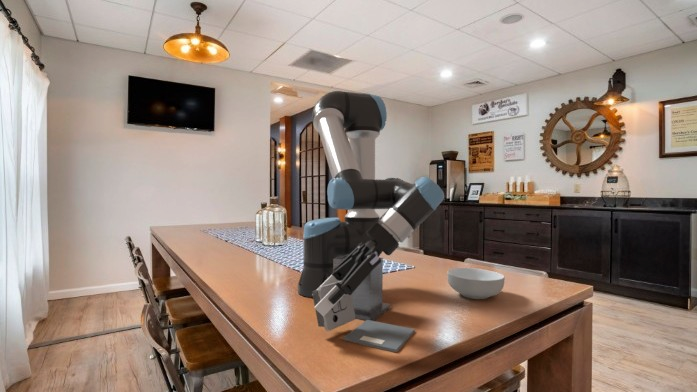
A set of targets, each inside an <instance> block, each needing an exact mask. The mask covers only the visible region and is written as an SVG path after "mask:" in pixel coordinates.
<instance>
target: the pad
mask: <svg viewBox="0 0 697 392" xmlns="http://www.w3.org/2000/svg"><path fill="white" fill-rule="evenodd" d="M414 333H415V328H411V327H407V326H401V325H395V324H390V323H386V322H381V321H377V320H376V321H375V320H374V321H371V320H364V322H362V323H361V324H359V325H358V326H357V327H356V328H354V329H352V330H351V331H350V332H349V333H347V334H345V336H343V341H345V342H350V343H354V344H356V345H357V344H359V345H362V346H365V347H366V346H367V347H370V348H374V349H375V348H376V349H379V350H383V351H388V352H392V353H398V351H399V350H400V349H401V348H402V347H403V346H404V345H405V343H406V342H407V341H408V340H409V339H410V337H412V335H414Z"/></svg>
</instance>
